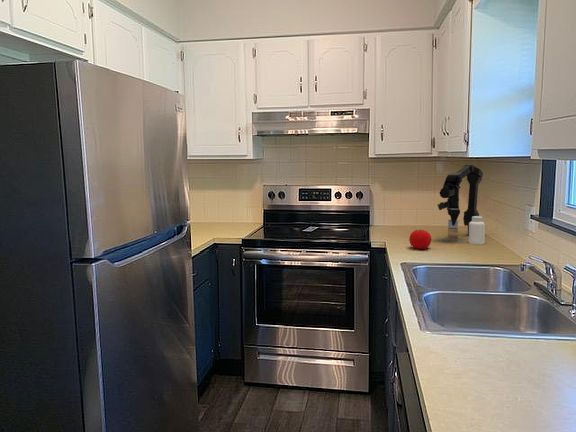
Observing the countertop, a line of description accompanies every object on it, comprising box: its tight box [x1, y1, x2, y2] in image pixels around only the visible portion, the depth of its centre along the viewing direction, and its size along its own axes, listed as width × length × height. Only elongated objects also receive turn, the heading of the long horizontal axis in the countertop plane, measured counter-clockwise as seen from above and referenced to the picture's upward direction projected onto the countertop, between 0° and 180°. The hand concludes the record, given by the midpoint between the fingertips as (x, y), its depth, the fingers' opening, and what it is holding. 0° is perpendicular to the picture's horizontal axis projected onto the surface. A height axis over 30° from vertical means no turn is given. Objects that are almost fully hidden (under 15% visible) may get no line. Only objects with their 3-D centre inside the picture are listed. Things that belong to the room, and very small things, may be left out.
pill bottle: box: [468, 215, 486, 245], centre depth 253 cm, size 8×8×15 cm
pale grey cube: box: [447, 219, 459, 228], centre depth 261 cm, size 5×5×4 cm
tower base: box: [447, 234, 459, 241], centre depth 262 cm, size 5×5×4 cm
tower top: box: [447, 226, 459, 236], centre depth 262 cm, size 5×5×4 cm
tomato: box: [408, 229, 432, 250], centre depth 244 cm, size 11×13×10 cm
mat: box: [440, 238, 464, 243], centre depth 263 cm, size 11×12×1 cm
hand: (453, 224), depth 261 cm, fingers closed on pale grey cube, 5 cm apart
